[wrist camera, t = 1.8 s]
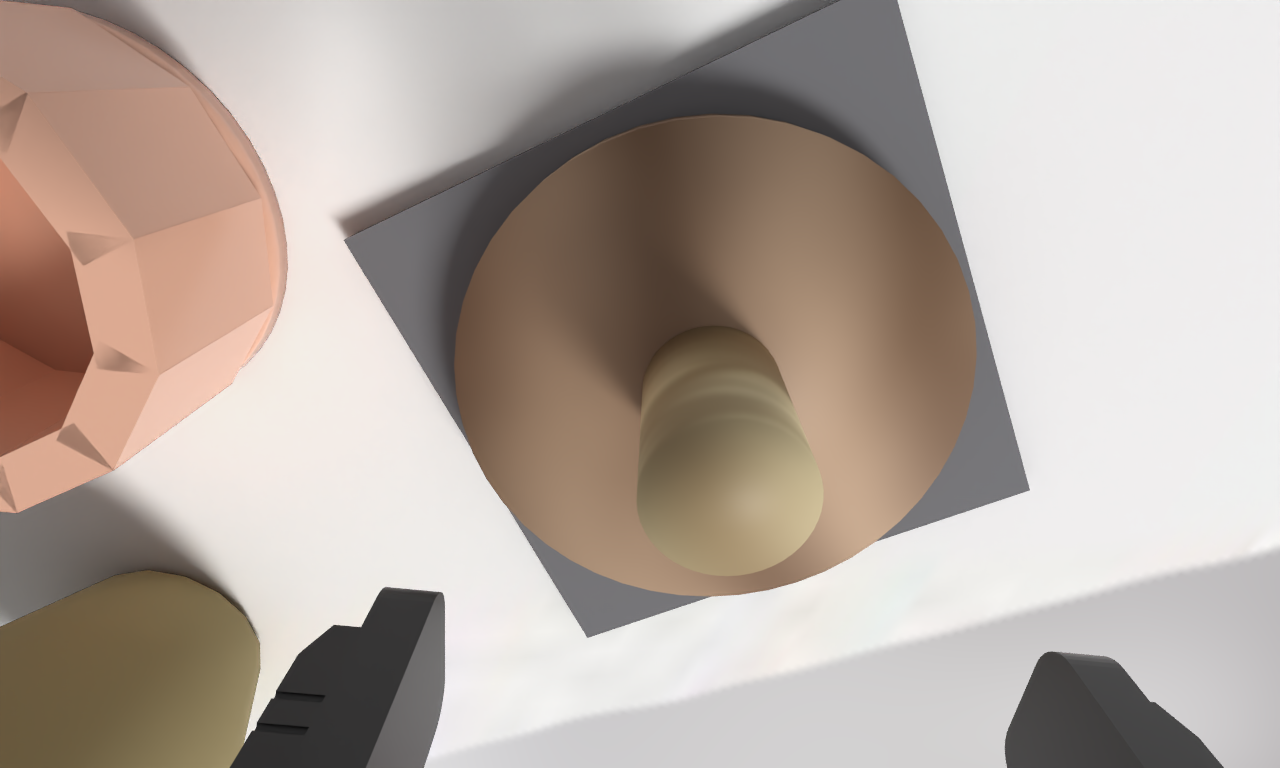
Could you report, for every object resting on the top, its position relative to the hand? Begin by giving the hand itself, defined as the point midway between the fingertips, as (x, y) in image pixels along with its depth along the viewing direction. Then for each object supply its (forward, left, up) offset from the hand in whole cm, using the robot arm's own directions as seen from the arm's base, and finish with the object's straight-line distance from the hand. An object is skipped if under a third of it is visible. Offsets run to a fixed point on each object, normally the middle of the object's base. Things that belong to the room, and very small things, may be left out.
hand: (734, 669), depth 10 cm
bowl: (+13, -10, -11) cm, 19 cm away
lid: (0, 0, -10) cm, 10 cm away
